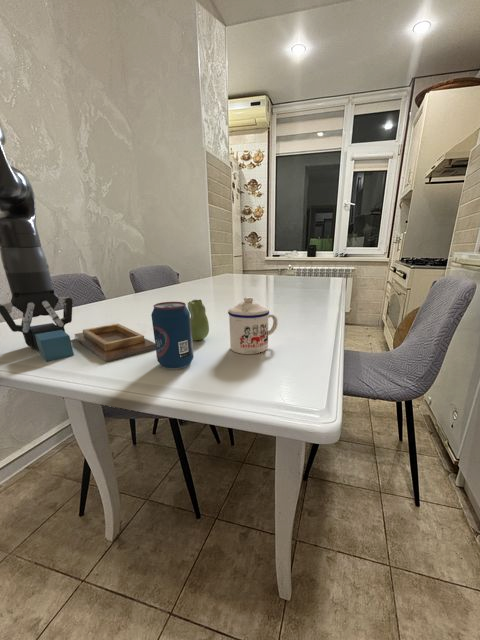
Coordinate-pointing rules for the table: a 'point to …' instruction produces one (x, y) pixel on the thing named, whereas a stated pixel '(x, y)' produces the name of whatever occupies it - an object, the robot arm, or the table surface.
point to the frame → (114, 341)
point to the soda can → (172, 335)
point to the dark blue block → (42, 330)
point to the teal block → (54, 345)
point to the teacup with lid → (250, 327)
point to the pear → (198, 320)
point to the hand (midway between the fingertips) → (47, 343)
